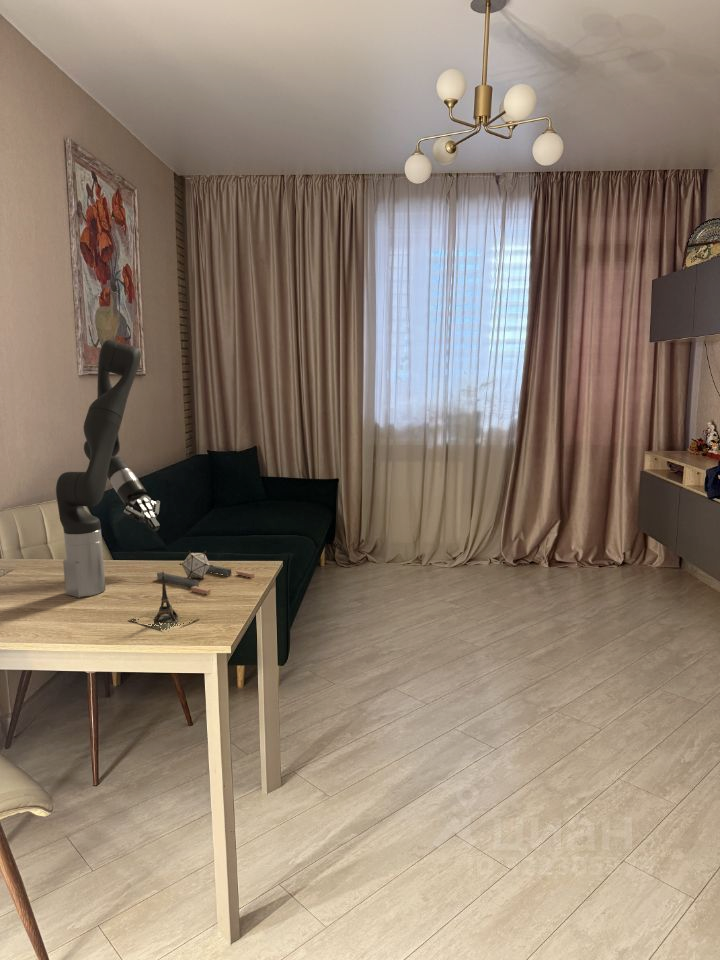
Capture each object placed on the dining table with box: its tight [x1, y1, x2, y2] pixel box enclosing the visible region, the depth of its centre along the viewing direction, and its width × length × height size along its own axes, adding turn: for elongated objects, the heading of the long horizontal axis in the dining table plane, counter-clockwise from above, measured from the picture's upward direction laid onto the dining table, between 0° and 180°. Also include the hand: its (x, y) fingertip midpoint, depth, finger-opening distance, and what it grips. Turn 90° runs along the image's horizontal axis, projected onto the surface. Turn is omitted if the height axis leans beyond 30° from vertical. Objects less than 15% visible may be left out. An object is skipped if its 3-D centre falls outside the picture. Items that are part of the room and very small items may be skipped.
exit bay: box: [190, 569, 255, 595], centre depth 177 cm, size 18×6×1 cm, turn 147°
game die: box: [178, 550, 214, 580], centre depth 183 cm, size 9×8×10 cm
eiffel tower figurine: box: [127, 571, 198, 631], centre depth 150 cm, size 15×10×13 cm
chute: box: [156, 565, 232, 588], centre depth 184 cm, size 14×16×2 cm
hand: (156, 529), depth 191 cm, fingers closed
